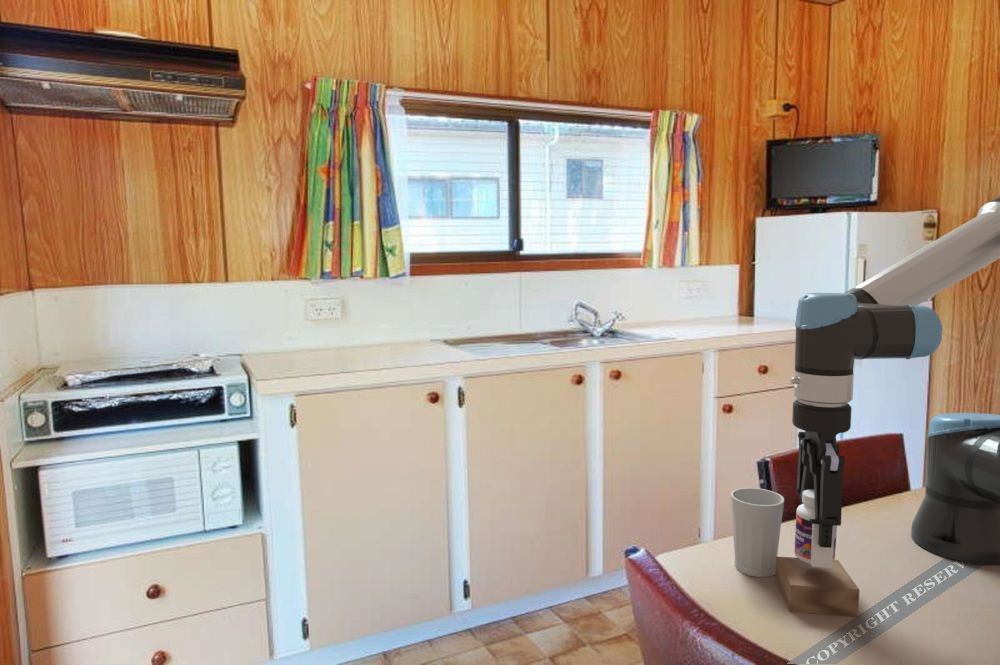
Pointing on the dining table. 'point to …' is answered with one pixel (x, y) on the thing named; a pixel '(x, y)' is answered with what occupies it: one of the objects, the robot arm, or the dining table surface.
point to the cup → (756, 530)
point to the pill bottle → (806, 527)
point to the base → (816, 588)
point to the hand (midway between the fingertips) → (815, 556)
